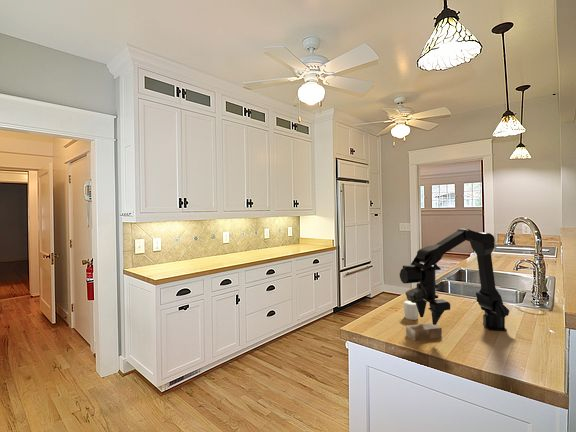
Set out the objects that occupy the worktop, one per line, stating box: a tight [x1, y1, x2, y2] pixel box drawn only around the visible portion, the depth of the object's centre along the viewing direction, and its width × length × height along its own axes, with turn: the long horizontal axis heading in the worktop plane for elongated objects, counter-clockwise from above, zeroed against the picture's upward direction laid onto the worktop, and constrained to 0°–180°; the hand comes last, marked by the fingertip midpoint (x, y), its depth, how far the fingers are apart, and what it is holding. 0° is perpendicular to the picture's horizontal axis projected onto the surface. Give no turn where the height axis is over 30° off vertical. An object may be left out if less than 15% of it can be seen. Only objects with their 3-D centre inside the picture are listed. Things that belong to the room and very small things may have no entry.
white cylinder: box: [402, 299, 419, 321], centre depth 139 cm, size 7×7×7 cm
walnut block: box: [405, 322, 443, 341], centre depth 120 cm, size 4×5×12 cm
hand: (427, 320), depth 120 cm, fingers open, 8 cm apart
